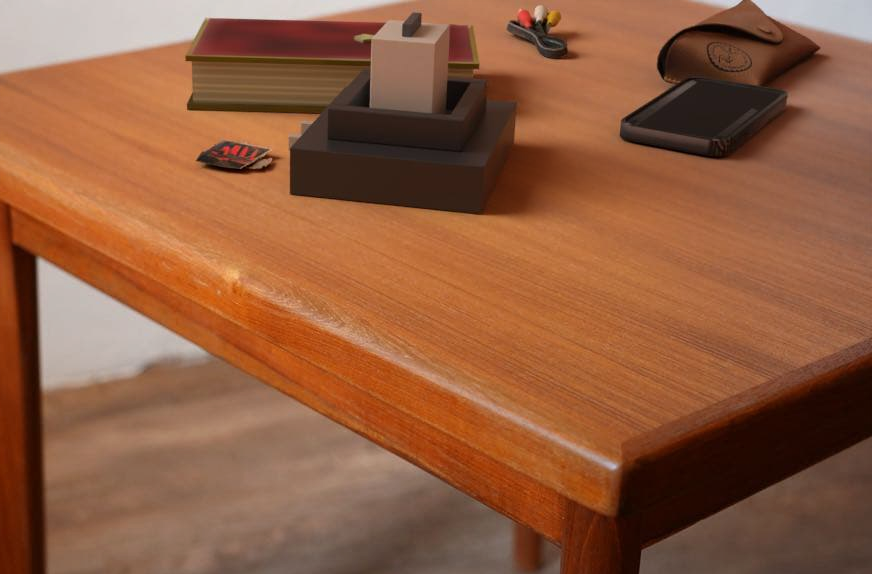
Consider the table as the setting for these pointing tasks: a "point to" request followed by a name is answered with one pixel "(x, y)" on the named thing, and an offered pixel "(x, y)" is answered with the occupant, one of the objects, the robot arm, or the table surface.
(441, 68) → the block
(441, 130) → the stepped square holder
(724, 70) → the sunglasses case
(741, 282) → the table surface
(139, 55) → the table surface
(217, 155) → the matchbox
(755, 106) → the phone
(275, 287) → the table surface
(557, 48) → the composite cable
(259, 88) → the hardcover book
